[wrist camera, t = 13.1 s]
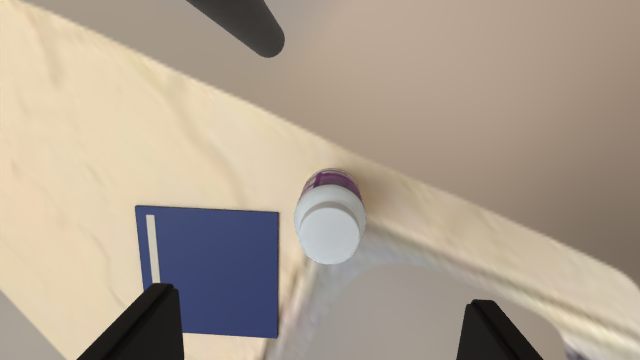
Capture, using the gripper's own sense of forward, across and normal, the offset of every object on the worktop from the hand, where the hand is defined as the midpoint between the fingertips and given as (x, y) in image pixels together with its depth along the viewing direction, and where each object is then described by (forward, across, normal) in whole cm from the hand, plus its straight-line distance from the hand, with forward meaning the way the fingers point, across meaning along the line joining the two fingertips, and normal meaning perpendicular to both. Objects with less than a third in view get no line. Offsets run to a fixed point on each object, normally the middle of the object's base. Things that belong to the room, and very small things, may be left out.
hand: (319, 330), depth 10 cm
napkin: (+19, +12, +10) cm, 25 cm away
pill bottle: (+19, 0, +1) cm, 19 cm away
